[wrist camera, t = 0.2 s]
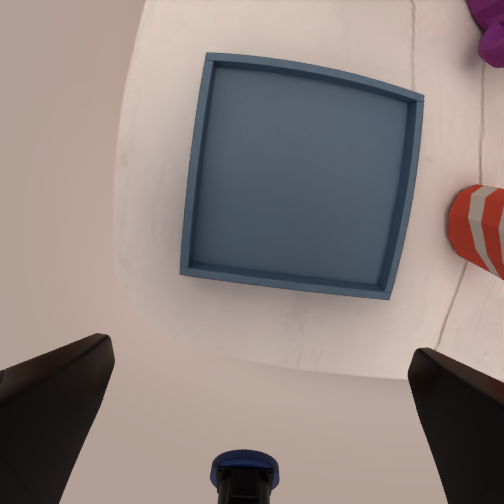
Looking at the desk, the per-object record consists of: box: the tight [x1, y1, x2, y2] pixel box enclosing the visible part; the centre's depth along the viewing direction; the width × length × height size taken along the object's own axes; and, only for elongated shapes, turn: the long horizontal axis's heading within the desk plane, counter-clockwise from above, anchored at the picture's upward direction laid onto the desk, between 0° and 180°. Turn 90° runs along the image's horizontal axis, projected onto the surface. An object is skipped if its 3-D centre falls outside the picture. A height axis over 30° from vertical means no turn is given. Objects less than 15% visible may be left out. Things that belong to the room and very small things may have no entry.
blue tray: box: [180, 52, 424, 300], centre depth 20 cm, size 15×15×2 cm
